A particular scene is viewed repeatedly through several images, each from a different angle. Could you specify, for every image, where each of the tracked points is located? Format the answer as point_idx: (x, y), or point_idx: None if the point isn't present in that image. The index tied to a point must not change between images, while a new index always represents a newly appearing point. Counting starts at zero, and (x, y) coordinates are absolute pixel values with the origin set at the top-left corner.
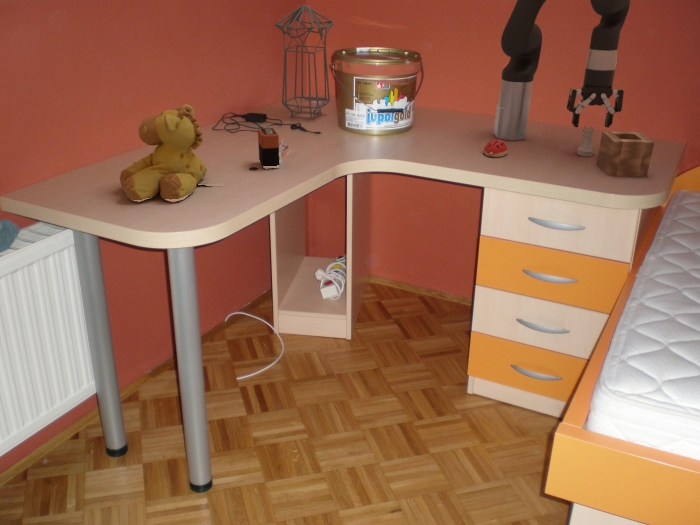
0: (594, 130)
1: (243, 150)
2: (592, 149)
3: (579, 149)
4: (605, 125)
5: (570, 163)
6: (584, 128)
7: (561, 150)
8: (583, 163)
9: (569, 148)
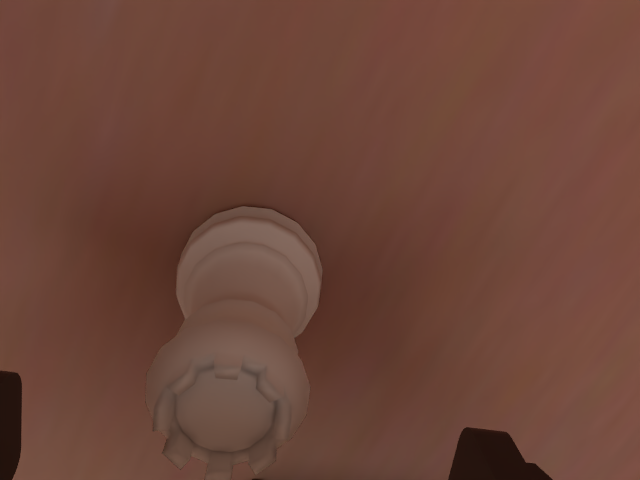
0: (294, 428)
1: None
2: (301, 328)
3: (181, 306)
4: (458, 473)
5: (51, 470)
6: (158, 401)
7: (80, 121)
8: (155, 472)
9: (188, 54)
